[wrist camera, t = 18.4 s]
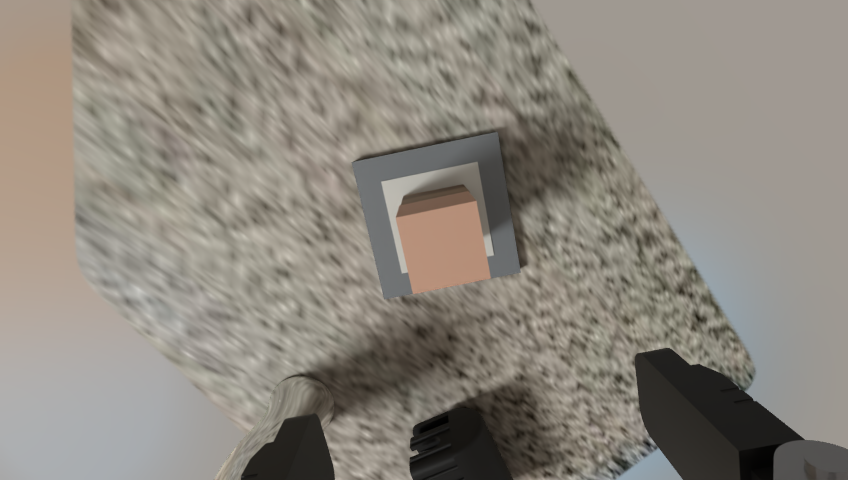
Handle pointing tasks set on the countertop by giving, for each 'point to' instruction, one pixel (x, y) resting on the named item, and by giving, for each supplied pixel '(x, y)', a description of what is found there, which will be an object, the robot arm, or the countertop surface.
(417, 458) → the end cap
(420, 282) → the terracotta block
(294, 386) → the beer glass
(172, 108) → the countertop surface
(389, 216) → the plate
